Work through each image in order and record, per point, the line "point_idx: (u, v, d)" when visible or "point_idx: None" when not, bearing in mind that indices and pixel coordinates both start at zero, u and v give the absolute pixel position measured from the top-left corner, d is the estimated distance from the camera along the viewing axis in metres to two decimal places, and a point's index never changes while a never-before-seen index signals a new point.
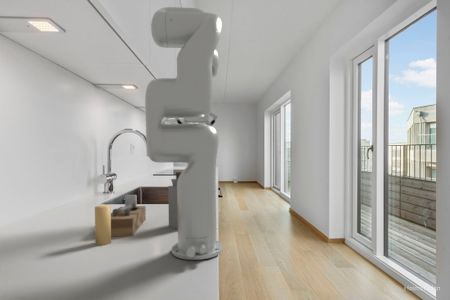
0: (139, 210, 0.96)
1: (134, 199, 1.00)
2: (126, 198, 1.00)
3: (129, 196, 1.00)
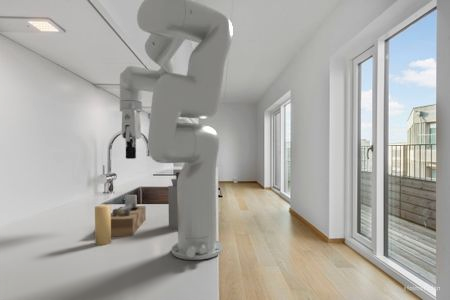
0: (139, 210, 0.96)
1: (134, 199, 1.00)
2: (126, 198, 1.00)
3: (129, 196, 1.00)
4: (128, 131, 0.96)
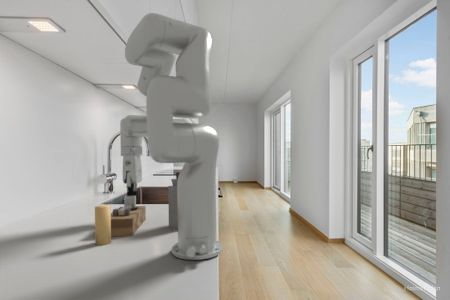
0: (139, 210, 0.96)
1: (133, 200, 0.99)
2: (125, 199, 0.98)
3: (128, 197, 0.98)
4: (129, 177, 0.98)
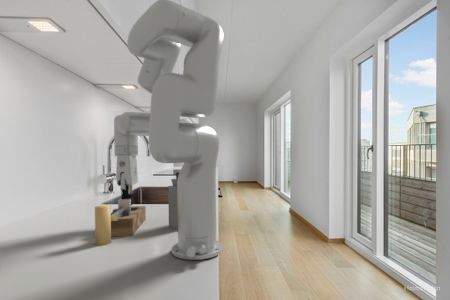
0: (139, 210, 0.96)
1: (128, 203, 0.91)
2: (119, 202, 0.91)
3: (122, 200, 0.91)
4: (123, 179, 0.90)
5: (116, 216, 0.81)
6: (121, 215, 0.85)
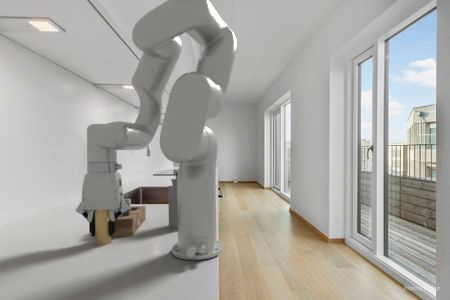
0: (139, 210, 0.96)
1: (128, 203, 0.91)
2: None
3: None
4: (122, 198, 0.78)
5: None
6: (121, 215, 0.85)
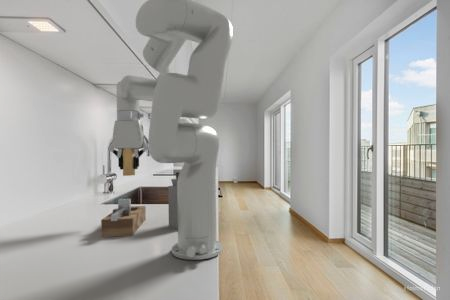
0: (139, 210, 0.96)
1: (128, 203, 0.91)
2: (119, 202, 0.91)
3: (122, 200, 0.91)
4: (143, 140, 0.99)
5: (116, 216, 0.81)
6: (121, 215, 0.85)
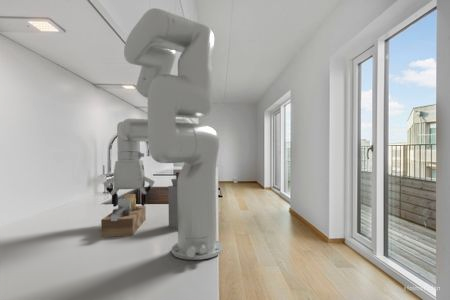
0: (139, 210, 0.96)
1: (128, 203, 0.91)
2: (119, 202, 0.91)
3: (122, 200, 0.91)
4: (146, 177, 0.99)
5: (116, 216, 0.81)
6: (121, 215, 0.85)
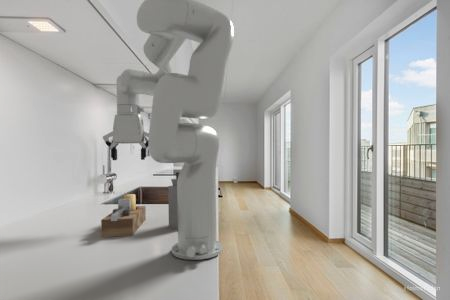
0: (139, 210, 0.96)
1: (128, 203, 0.91)
2: (119, 202, 0.91)
3: (122, 200, 0.91)
4: (145, 132, 0.99)
5: (116, 216, 0.81)
6: (121, 215, 0.85)
